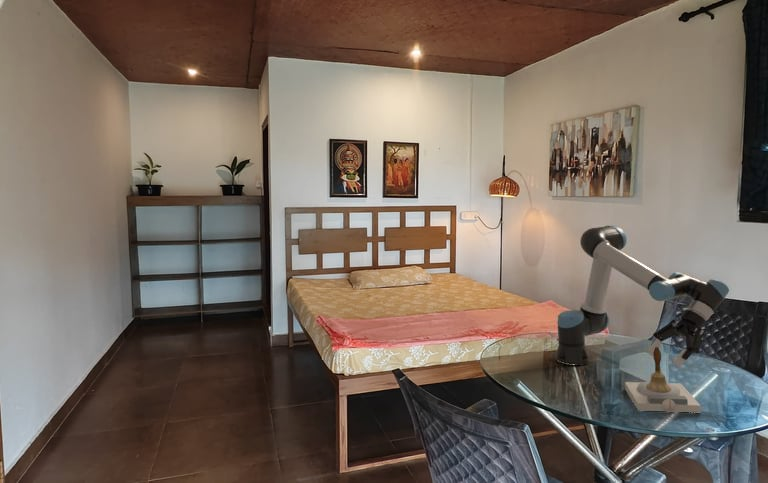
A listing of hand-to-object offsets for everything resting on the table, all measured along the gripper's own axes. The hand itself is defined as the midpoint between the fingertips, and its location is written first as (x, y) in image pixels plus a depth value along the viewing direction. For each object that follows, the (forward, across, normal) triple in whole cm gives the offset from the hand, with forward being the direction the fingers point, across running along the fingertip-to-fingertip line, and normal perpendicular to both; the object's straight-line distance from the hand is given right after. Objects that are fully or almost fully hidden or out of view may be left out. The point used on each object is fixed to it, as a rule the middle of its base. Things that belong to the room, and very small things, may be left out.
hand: (662, 359), depth 181 cm
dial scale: (+12, -1, -9) cm, 16 cm away
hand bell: (+9, +1, -7) cm, 12 cm away
